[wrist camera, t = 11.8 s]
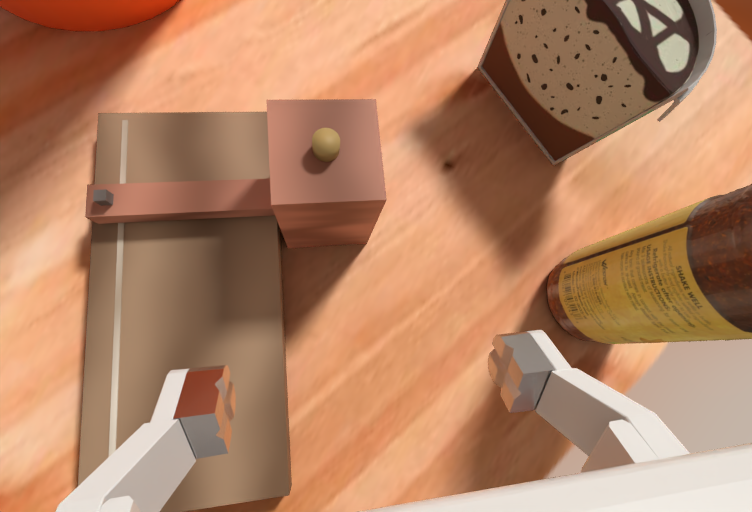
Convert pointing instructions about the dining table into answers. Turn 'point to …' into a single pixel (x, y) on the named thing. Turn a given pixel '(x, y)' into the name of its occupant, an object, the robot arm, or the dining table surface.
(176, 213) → the latch lever with knob
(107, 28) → the flowerpot
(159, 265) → the plank
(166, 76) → the dining table surface
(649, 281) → the sauce bottle
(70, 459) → the dining table surface
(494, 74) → the food container
